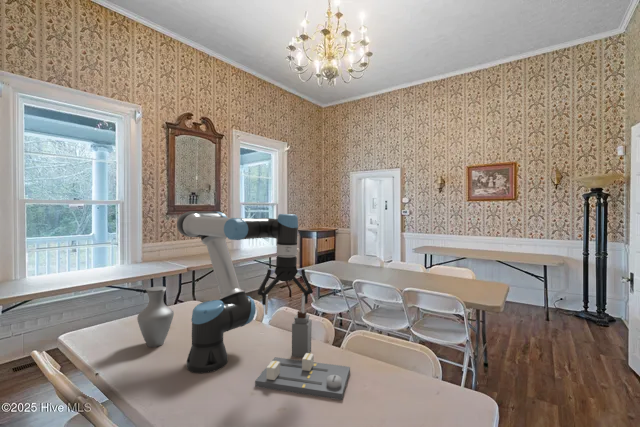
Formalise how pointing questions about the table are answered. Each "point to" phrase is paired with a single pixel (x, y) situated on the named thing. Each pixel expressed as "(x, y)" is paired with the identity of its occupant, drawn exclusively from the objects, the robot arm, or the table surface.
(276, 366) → the fader near
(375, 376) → the table surface
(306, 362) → the fader far
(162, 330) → the vase
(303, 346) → the perfume bottle
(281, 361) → the console
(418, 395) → the table surface
